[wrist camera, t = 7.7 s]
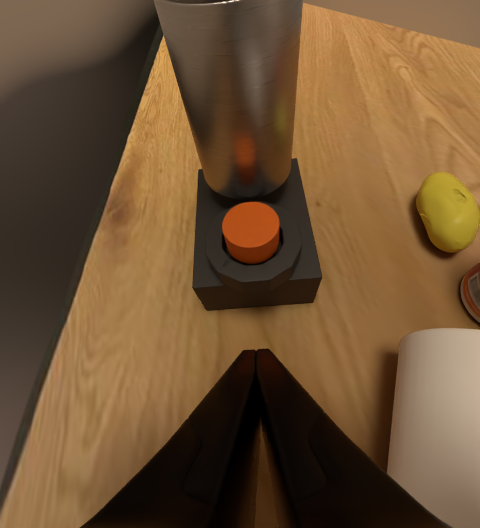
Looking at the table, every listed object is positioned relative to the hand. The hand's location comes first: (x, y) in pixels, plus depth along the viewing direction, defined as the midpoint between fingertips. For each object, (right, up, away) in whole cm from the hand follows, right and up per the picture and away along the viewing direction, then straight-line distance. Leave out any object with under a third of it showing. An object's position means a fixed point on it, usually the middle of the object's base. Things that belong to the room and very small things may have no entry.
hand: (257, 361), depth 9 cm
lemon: (+17, +7, +16) cm, 25 cm away
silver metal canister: (0, +11, +13) cm, 17 cm away
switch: (0, +5, +10) cm, 11 cm away
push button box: (+1, +5, +17) cm, 18 cm away
